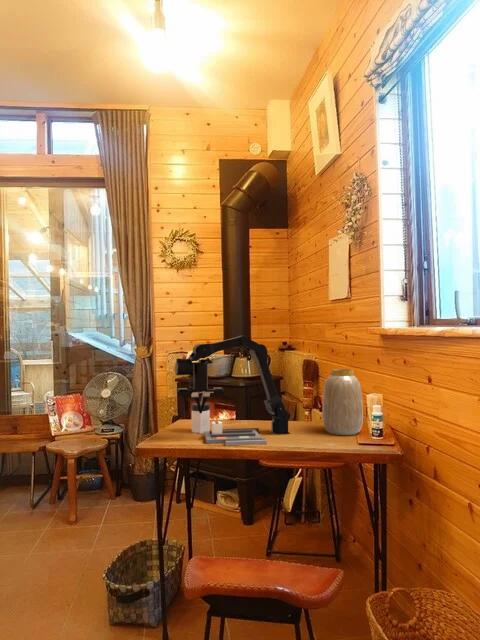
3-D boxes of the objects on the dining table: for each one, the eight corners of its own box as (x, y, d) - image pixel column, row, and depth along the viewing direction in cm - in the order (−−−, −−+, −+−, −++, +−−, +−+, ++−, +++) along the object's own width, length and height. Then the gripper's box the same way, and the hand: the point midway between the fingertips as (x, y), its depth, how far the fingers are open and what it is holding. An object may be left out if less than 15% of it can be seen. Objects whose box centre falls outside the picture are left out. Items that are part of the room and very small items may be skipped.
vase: (366, 429, 200) (365, 369, 201) (359, 438, 184) (358, 372, 185) (327, 426, 207) (327, 367, 208) (318, 434, 192) (317, 370, 192)
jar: (196, 434, 192) (196, 406, 192) (187, 430, 199) (187, 403, 199) (214, 431, 197) (214, 404, 197) (205, 428, 204) (205, 401, 204)
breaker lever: (221, 433, 186) (221, 420, 187) (222, 435, 182) (222, 422, 182) (211, 433, 186) (211, 421, 186) (212, 436, 182) (212, 423, 182)
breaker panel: (255, 432, 194) (255, 427, 194) (262, 441, 179) (262, 435, 179) (204, 434, 191) (204, 428, 191) (206, 444, 175) (206, 437, 175)
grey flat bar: (264, 442, 178) (264, 438, 178) (266, 444, 175) (266, 440, 175) (224, 443, 176) (224, 440, 176) (225, 445, 173) (225, 441, 173)
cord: (258, 431, 198) (258, 428, 198) (258, 431, 196) (258, 428, 196) (217, 432, 195) (217, 429, 195) (217, 433, 194) (217, 430, 194)
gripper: (221, 372, 193) (221, 409, 193) (177, 373, 190) (177, 410, 190) (224, 375, 182) (224, 414, 182) (177, 375, 179) (177, 415, 179)
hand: (200, 413), depth 183 cm, fingers closed
